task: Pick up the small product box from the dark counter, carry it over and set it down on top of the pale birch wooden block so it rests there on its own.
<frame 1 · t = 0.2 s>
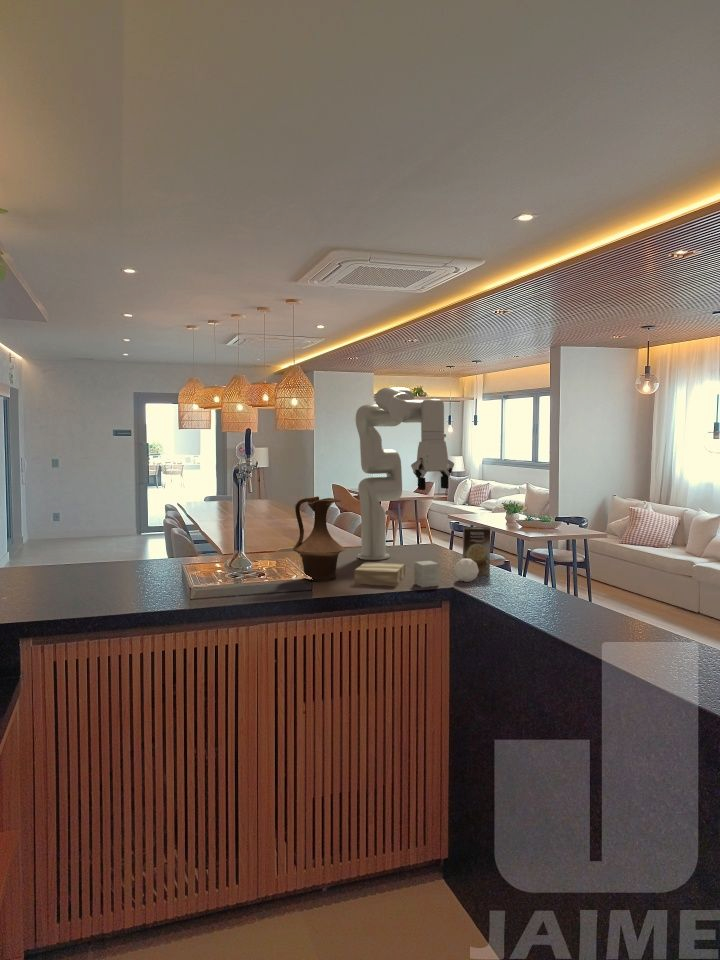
hand: (433, 489, 225), 30 cm above the worktop, tool pointing down, fingers open, 9 cm apart
coffee box: (476, 574, 237), on the worktop
pitcher: (319, 579, 232), on the worktop
birch block: (380, 581, 228), on the worktop
geometric ball: (466, 581, 225), on the worktop
product box: (426, 585, 221), on the worktop
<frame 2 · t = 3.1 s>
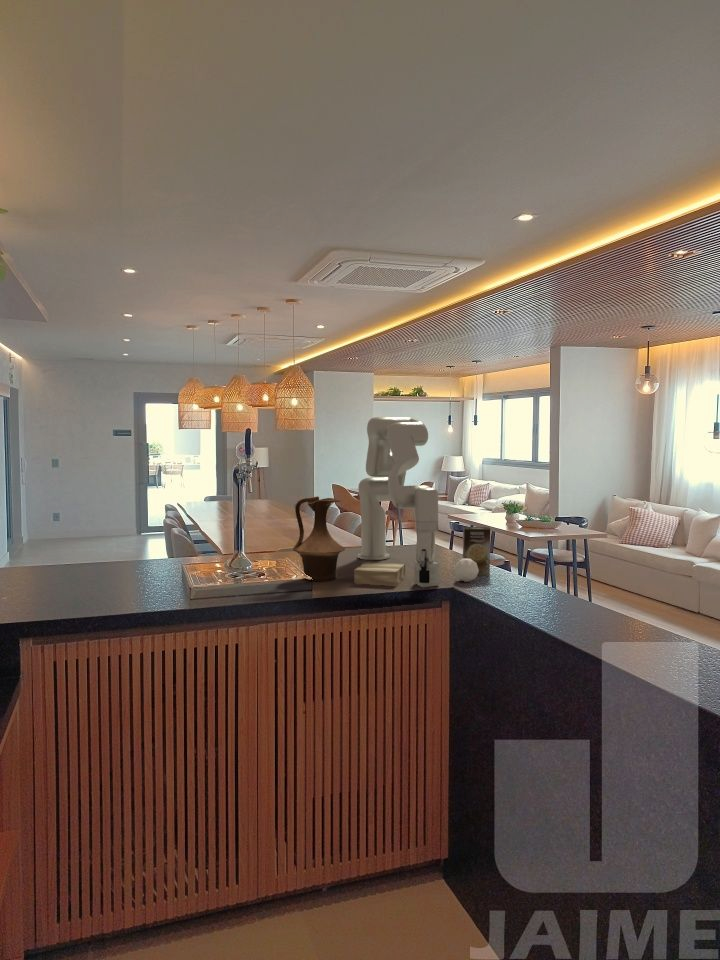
hand: (426, 579, 221), 2 cm above the worktop, tool pointing down, fingers closed on product box, 8 cm apart
product box: (426, 585, 221), on the worktop, touching gripper
everything else where it was.
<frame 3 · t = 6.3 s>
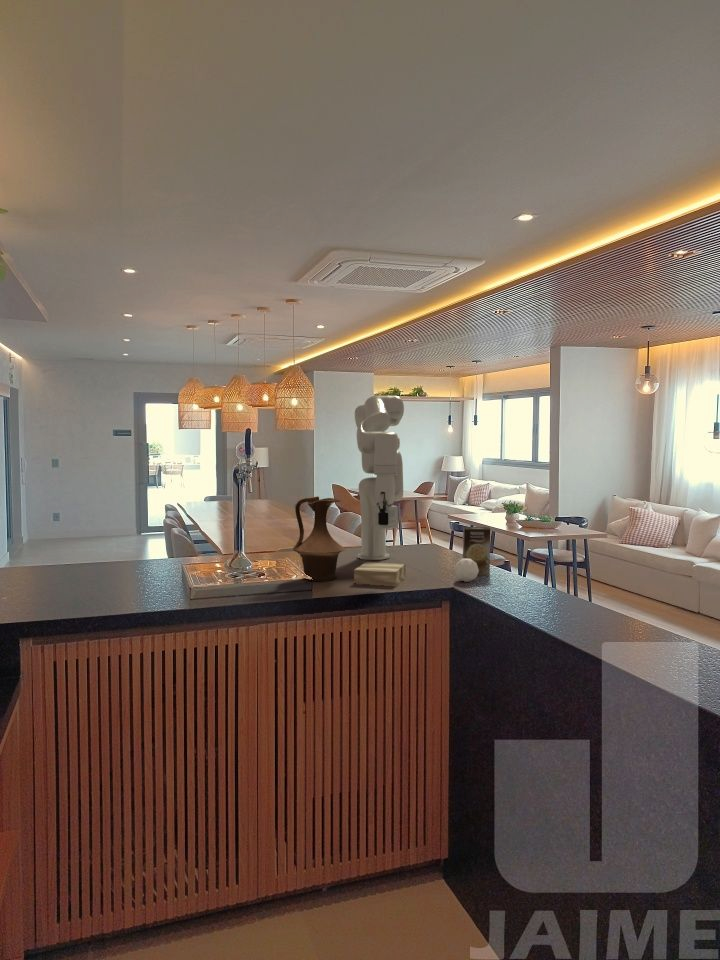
hand: (386, 522, 226), 19 cm above the worktop, tool pointing down, fingers closed on product box, 8 cm apart
product box: (386, 528, 226), point 18 cm above the worktop, touching gripper
everything else where it was.
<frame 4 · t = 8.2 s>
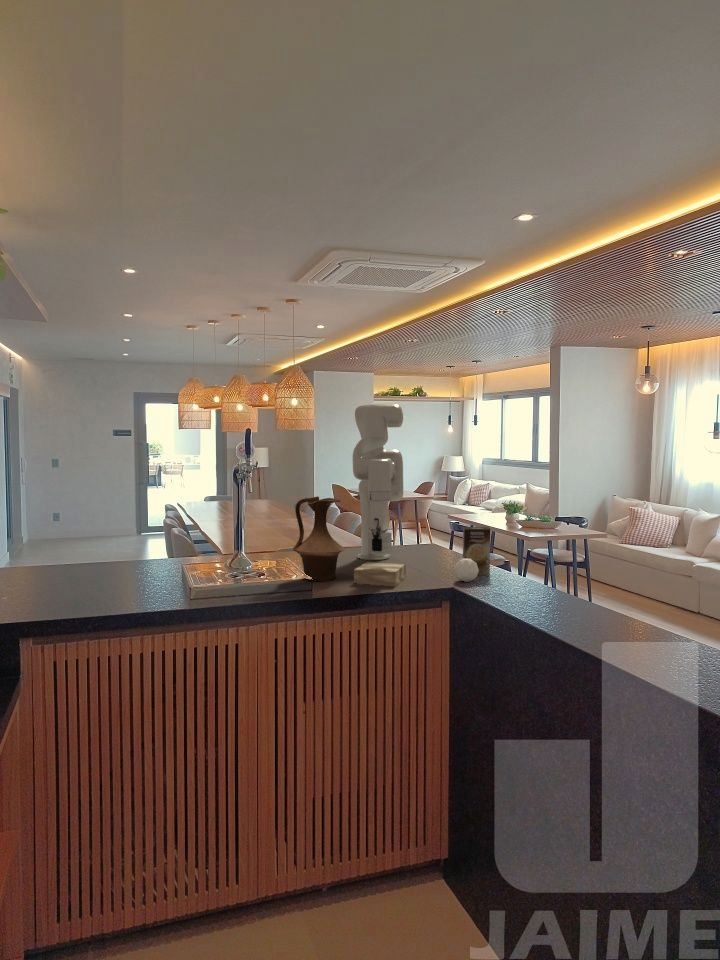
hand: (380, 548, 227), 11 cm above the worktop, tool pointing down, fingers closed on product box, 8 cm apart
product box: (380, 554, 227), point 9 cm above the worktop, touching gripper
everything else where it was.
when the fingers open (8 cm above the worktop, at t = 9.5 s): product box drops 2 cm, point 4 cm above the worktop.
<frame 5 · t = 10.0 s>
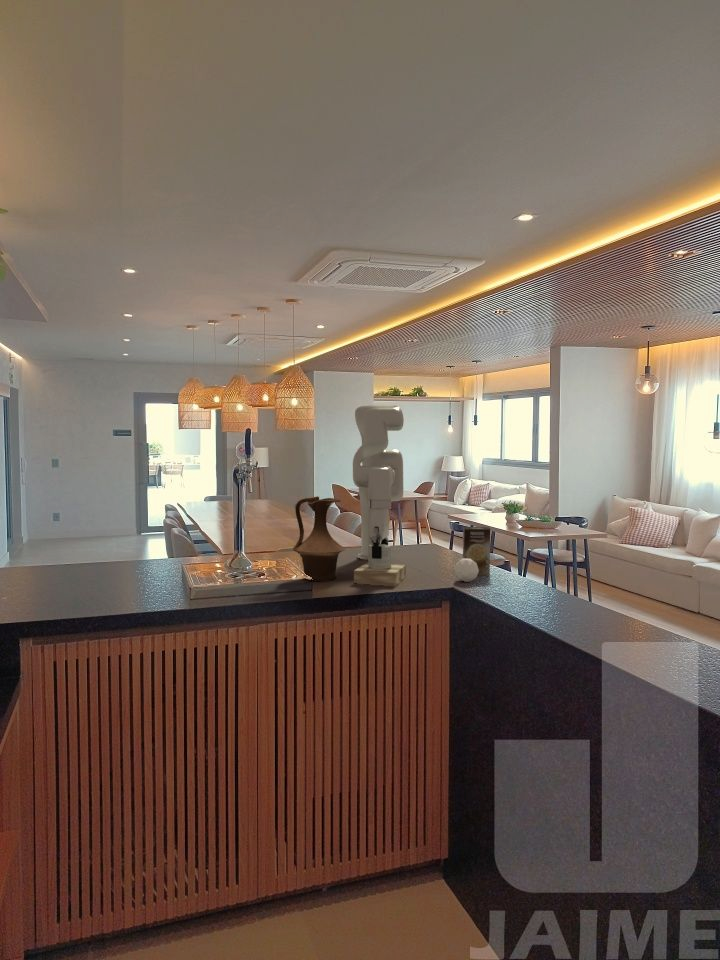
hand: (380, 555, 227), 8 cm above the worktop, tool pointing down, fingers open, 9 cm apart
product box: (379, 568, 228), point 4 cm above the worktop
everything else where it was.
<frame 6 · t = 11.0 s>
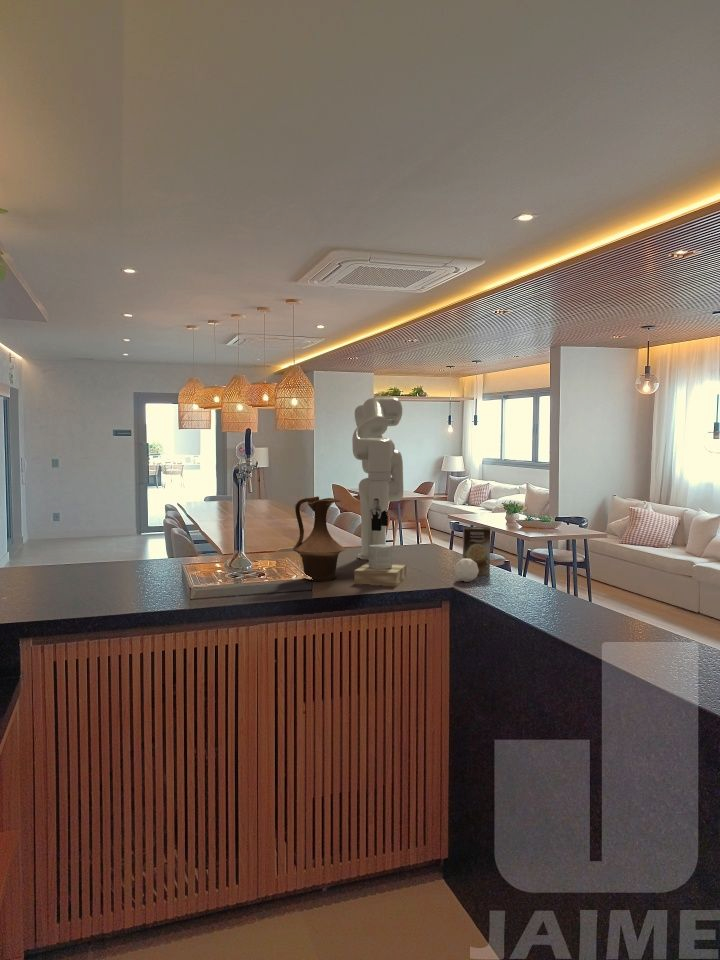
hand: (379, 528, 227), 18 cm above the worktop, tool pointing down, fingers open, 9 cm apart
birch block: (380, 582, 228), on the worktop, touching product box
product box: (380, 568, 227), point 4 cm above the worktop, touching birch block
everything else where it was.
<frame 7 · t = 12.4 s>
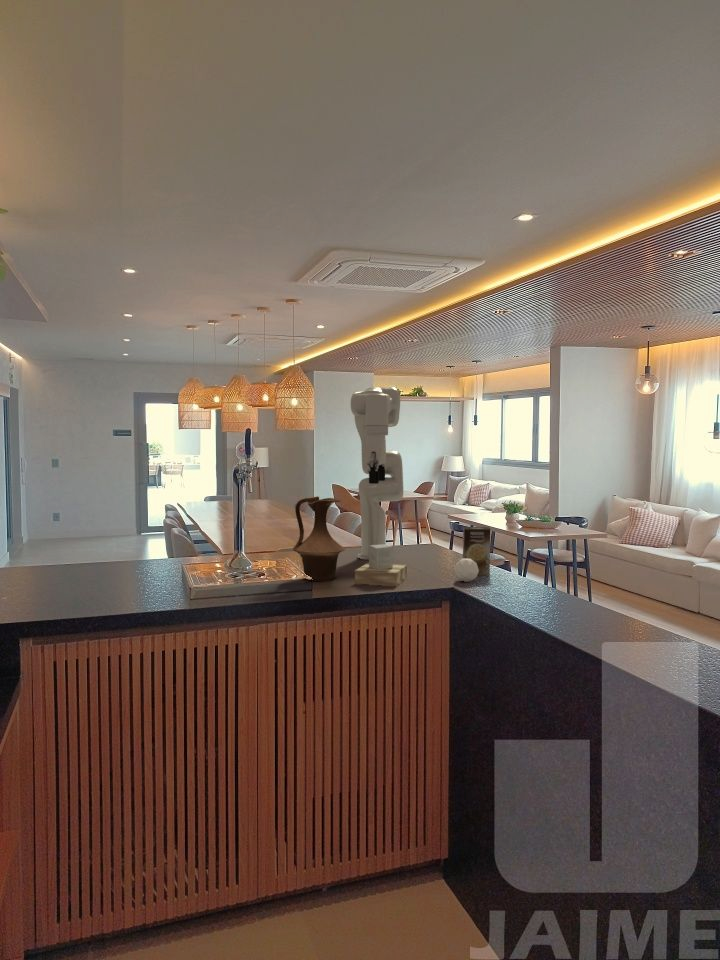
hand: (377, 482, 229), 33 cm above the worktop, tool pointing down, fingers open, 9 cm apart
nothing on the worktop moved.
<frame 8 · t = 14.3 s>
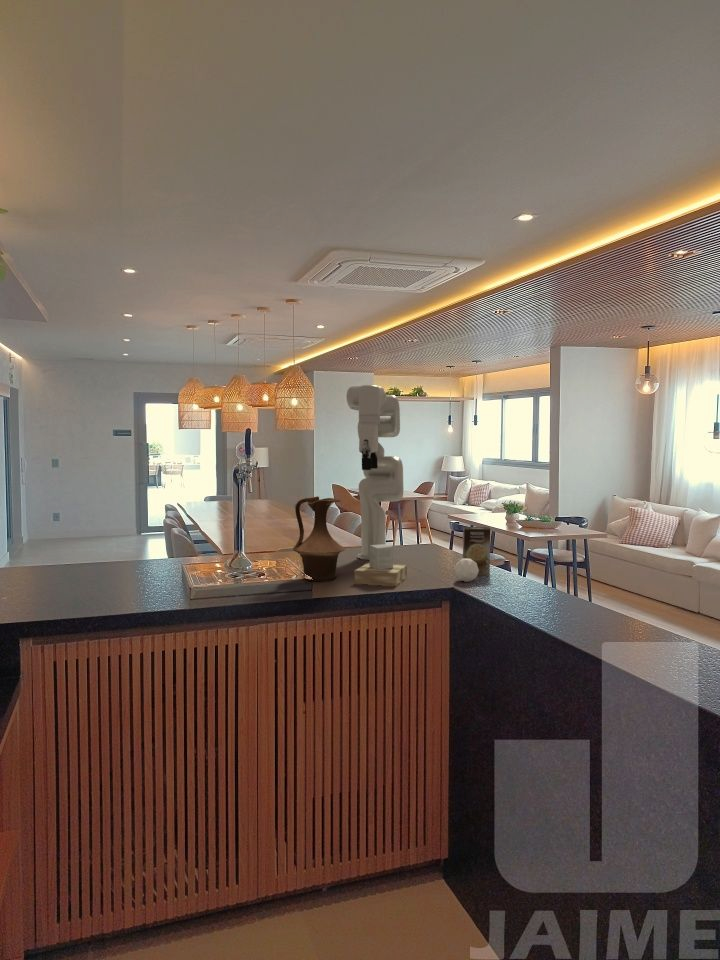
hand: (369, 469, 241), 36 cm above the worktop, tool pointing down, fingers open, 9 cm apart
nothing on the worktop moved.
at the end: product box inside the target area on the birch block (0.1 cm from its centre), point 4.8 cm above the birch block's base; product box touching birch block; product box tilted 0° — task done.
